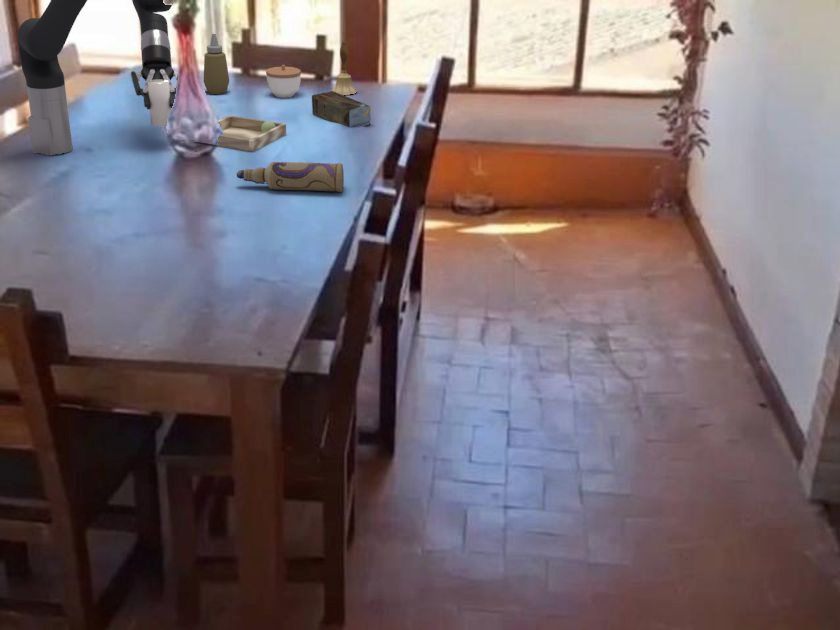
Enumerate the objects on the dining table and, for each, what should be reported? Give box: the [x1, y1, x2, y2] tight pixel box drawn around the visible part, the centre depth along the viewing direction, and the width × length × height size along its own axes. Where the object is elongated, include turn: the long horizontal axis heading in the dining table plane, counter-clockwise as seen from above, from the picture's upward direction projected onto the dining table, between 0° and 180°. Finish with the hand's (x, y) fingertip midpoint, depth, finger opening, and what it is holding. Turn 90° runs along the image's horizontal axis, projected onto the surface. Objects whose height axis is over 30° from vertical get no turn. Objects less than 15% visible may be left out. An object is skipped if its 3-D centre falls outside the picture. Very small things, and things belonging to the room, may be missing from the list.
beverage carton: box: [311, 90, 371, 128], centre depth 309 cm, size 8×19×7 cm, turn 39°
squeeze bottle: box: [203, 33, 230, 95], centre depth 330 cm, size 8×8×18 cm
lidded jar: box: [265, 64, 302, 99], centre depth 331 cm, size 11×11×9 cm
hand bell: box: [331, 41, 358, 96], centre depth 334 cm, size 8×8×16 cm
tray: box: [217, 114, 287, 153], centre depth 289 cm, size 18×18×4 cm
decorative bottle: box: [236, 161, 345, 193], centre depth 255 cm, size 26×8×7 cm, turn 87°
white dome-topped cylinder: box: [148, 79, 172, 127], centre depth 278 cm, size 5×5×11 cm
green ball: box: [261, 120, 276, 133], centre depth 291 cm, size 4×4×4 cm
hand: (160, 107), depth 277 cm, fingers closed on white dome-topped cylinder, 5 cm apart
